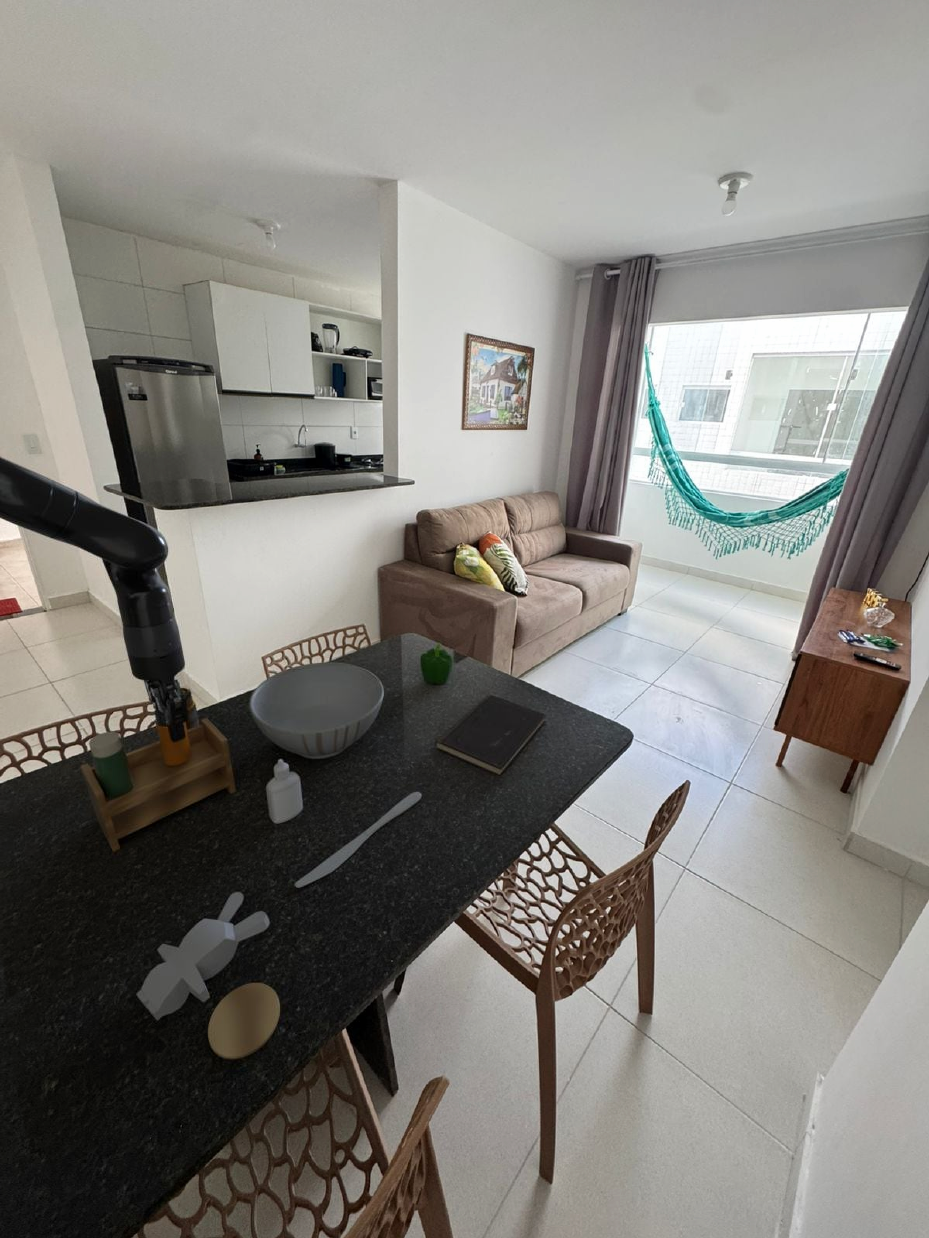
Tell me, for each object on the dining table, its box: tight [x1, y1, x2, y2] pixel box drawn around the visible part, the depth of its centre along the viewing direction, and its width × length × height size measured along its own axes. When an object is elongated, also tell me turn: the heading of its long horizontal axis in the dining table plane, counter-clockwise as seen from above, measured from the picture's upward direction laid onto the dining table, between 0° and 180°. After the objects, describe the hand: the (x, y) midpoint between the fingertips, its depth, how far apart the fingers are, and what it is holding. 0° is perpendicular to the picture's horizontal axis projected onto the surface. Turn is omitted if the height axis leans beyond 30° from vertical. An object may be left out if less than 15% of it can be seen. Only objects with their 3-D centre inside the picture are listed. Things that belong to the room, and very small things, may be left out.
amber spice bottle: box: [153, 704, 192, 765], centre depth 88 cm, size 4×4×10 cm
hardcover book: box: [435, 693, 547, 778], centre depth 115 cm, size 16×23×2 cm
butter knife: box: [294, 791, 422, 889], centre depth 88 cm, size 1×27×3 cm
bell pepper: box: [419, 642, 453, 685], centre depth 135 cm, size 8×8×10 cm
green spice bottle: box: [88, 731, 134, 798], centre depth 82 cm, size 4×4×10 cm
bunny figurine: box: [136, 891, 270, 1021], centre depth 66 cm, size 10×5×15 cm
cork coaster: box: [207, 982, 281, 1060], centre depth 62 cm, size 8×8×1 cm
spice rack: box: [80, 717, 237, 853], centre depth 90 cm, size 20×9×12 cm, turn 136°
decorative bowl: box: [248, 661, 385, 760], centre depth 109 cm, size 27×27×12 cm
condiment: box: [180, 687, 200, 730], centre depth 106 cm, size 7×8×12 cm
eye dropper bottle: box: [265, 758, 304, 825], centre depth 89 cm, size 4×6×12 cm
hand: (172, 732), depth 88 cm, fingers closed on amber spice bottle, 4 cm apart
